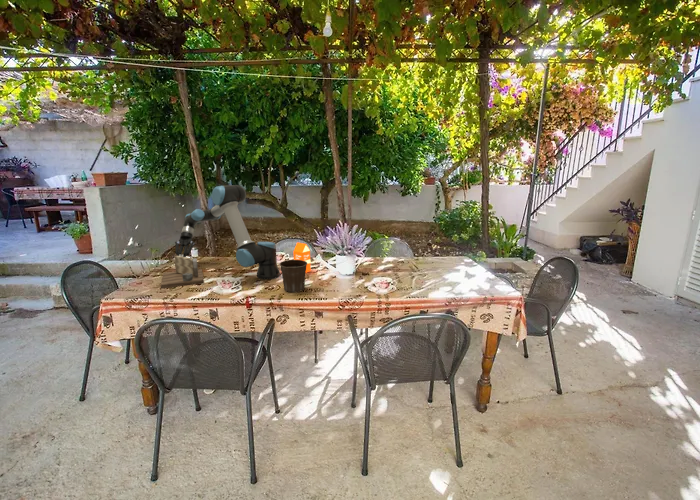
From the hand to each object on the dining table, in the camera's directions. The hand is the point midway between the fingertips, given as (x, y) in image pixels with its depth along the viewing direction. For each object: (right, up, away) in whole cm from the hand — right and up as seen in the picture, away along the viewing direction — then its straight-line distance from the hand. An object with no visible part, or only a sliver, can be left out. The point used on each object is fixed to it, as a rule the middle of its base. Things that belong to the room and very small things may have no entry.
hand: (180, 263), depth 246 cm
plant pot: (+81, -14, -27) cm, 86 cm away
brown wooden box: (+6, -10, -8) cm, 14 cm away
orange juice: (+81, -6, +9) cm, 82 cm away
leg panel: (+6, -6, -5) cm, 10 cm away
